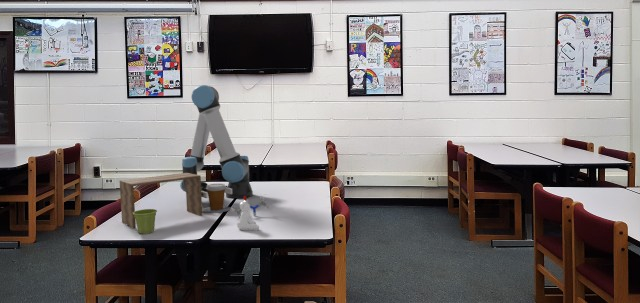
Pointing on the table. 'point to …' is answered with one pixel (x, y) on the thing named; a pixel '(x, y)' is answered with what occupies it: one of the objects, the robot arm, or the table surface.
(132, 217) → the walnut shelf
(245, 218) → the white creature statuette
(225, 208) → the slate coaster
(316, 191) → the table surface
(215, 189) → the disposable coffee cup
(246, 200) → the molecular model
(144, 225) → the plant pot
